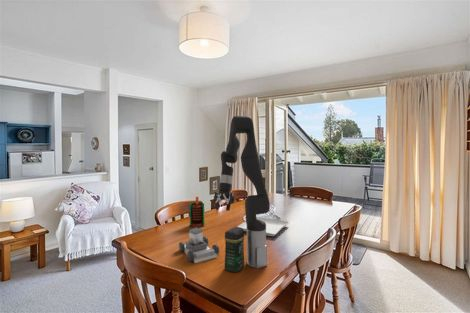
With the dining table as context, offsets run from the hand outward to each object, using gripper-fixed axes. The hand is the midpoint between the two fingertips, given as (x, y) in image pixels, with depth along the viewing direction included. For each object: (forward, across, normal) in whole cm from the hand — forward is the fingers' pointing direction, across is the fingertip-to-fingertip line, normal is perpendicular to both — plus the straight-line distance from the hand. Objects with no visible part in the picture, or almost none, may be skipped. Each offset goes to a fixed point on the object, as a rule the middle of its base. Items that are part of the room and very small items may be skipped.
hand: (222, 210), depth 150 cm
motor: (+11, -34, +14) cm, 39 cm away
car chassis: (+24, -1, -14) cm, 27 cm away
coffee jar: (+27, +24, -13) cm, 38 cm away
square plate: (+8, +7, +37) cm, 38 cm away
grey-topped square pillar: (+22, -4, -13) cm, 26 cm away
